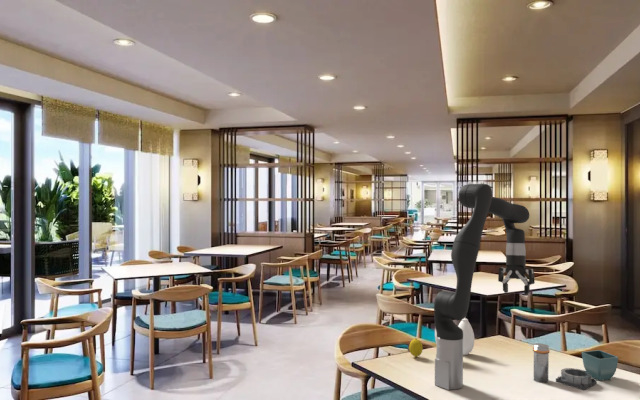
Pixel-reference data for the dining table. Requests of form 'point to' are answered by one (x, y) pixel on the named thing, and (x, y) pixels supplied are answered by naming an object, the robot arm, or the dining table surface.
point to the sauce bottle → (467, 336)
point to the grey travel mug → (541, 362)
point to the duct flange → (576, 378)
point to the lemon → (415, 347)
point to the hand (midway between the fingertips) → (516, 293)
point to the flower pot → (600, 364)
